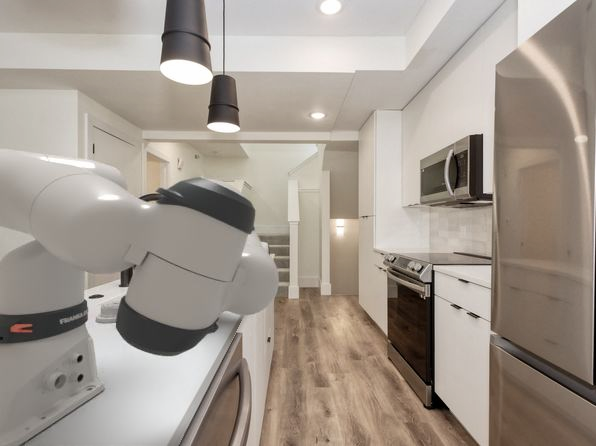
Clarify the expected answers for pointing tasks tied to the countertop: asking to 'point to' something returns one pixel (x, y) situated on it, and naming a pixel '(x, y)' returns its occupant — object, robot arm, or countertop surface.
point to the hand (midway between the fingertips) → (161, 257)
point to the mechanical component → (108, 312)
